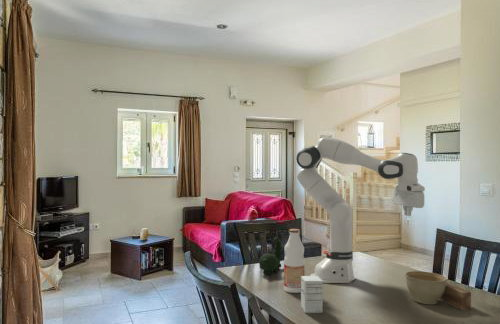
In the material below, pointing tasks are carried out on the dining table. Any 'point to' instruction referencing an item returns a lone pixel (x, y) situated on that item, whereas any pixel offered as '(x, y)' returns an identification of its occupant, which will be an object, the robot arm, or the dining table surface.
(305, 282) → the supplement box
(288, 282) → the fruit juice
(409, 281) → the planter bowl
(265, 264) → the green shrub
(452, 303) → the board
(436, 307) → the dining table surface
